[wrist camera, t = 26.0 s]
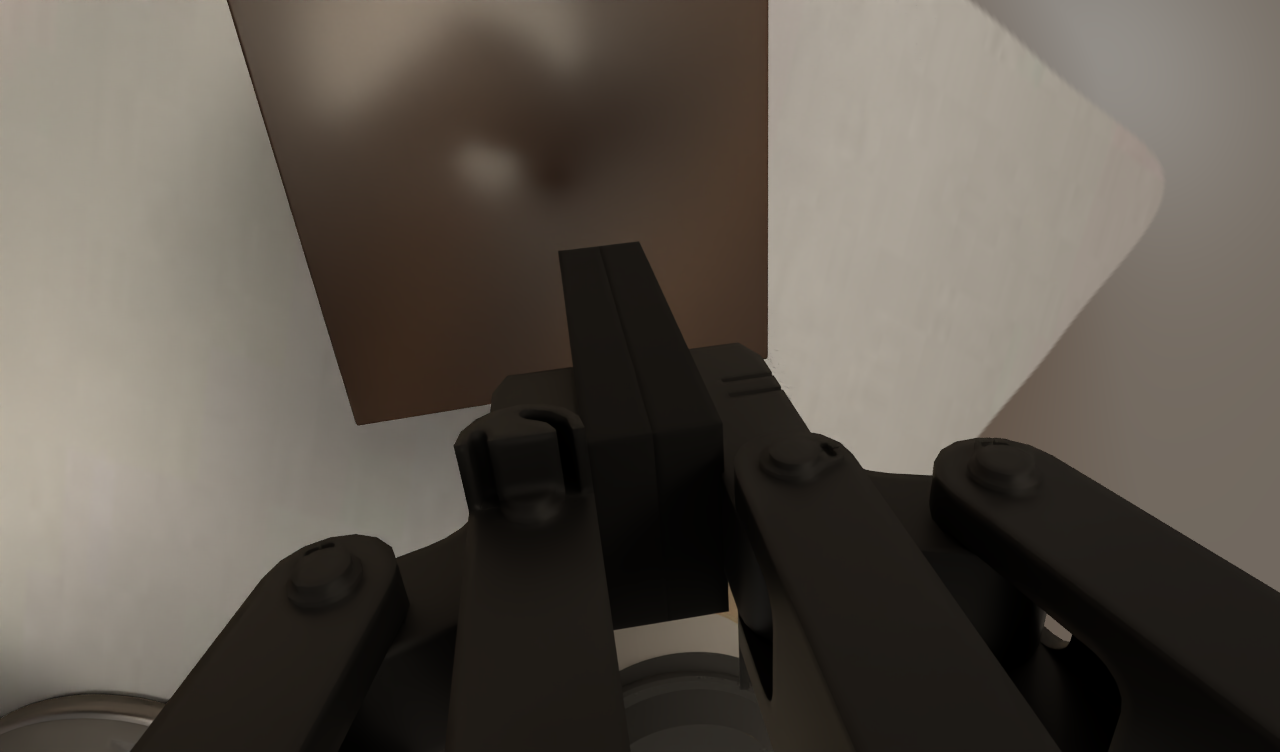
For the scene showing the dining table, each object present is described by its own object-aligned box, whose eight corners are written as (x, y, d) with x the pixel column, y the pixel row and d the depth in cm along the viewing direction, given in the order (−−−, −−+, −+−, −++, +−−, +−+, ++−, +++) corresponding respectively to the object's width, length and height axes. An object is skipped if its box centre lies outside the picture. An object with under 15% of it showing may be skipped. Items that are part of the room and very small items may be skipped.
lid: (359, 414, 24) (356, 427, 24) (224, -35, 18) (214, -36, 18) (760, 349, 26) (768, 359, 26) (759, -79, 20) (769, -82, 19)
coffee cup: (641, 430, 38) (700, 671, 24) (753, 523, 41) (857, 777, 28) (519, 538, 40) (512, 814, 26) (635, 618, 43) (681, 894, 30)
